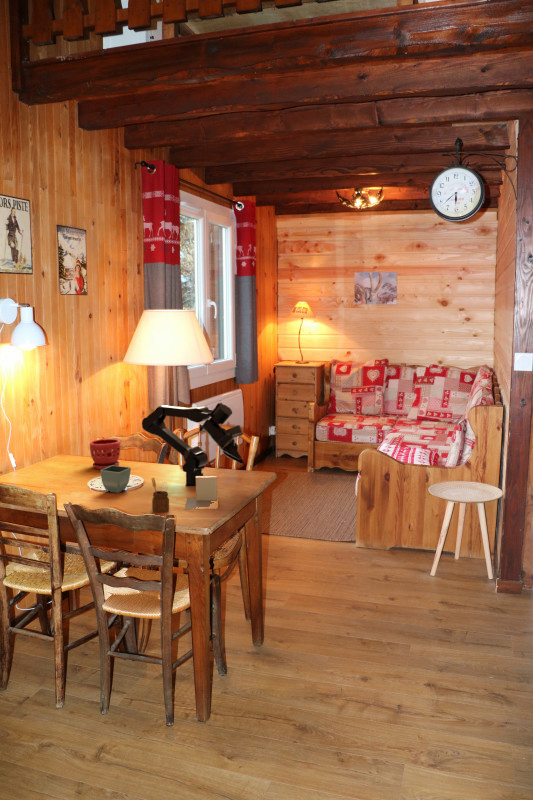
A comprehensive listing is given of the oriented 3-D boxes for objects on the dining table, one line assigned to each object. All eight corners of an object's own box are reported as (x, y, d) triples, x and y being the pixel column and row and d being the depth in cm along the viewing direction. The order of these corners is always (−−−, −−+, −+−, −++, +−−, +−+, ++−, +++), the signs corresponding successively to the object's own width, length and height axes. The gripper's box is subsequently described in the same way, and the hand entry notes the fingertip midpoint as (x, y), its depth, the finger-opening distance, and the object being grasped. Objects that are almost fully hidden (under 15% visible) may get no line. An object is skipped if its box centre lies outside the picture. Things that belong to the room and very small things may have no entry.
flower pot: (131, 489, 265) (131, 467, 263) (120, 495, 257) (119, 472, 255) (112, 486, 268) (112, 465, 266) (100, 492, 259) (99, 470, 258)
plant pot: (125, 464, 303) (124, 438, 301) (112, 471, 290) (111, 445, 288) (99, 462, 306) (98, 437, 304) (85, 469, 293) (84, 443, 291)
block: (195, 501, 249) (195, 477, 247) (196, 499, 251) (196, 476, 249) (217, 500, 249) (217, 477, 248) (217, 499, 251) (217, 476, 250)
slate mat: (184, 510, 239) (184, 509, 239) (187, 498, 253) (187, 497, 253) (218, 510, 239) (218, 509, 239) (218, 498, 253) (218, 497, 253)
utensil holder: (163, 515, 233) (162, 482, 232) (148, 512, 236) (147, 479, 234) (172, 510, 239) (172, 478, 237) (157, 508, 241) (157, 475, 240)
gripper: (228, 413, 255) (255, 442, 251) (234, 424, 273) (259, 452, 269) (206, 431, 254) (233, 462, 250) (213, 441, 272) (238, 470, 268)
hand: (241, 461), depth 259 cm, fingers open, 9 cm apart
